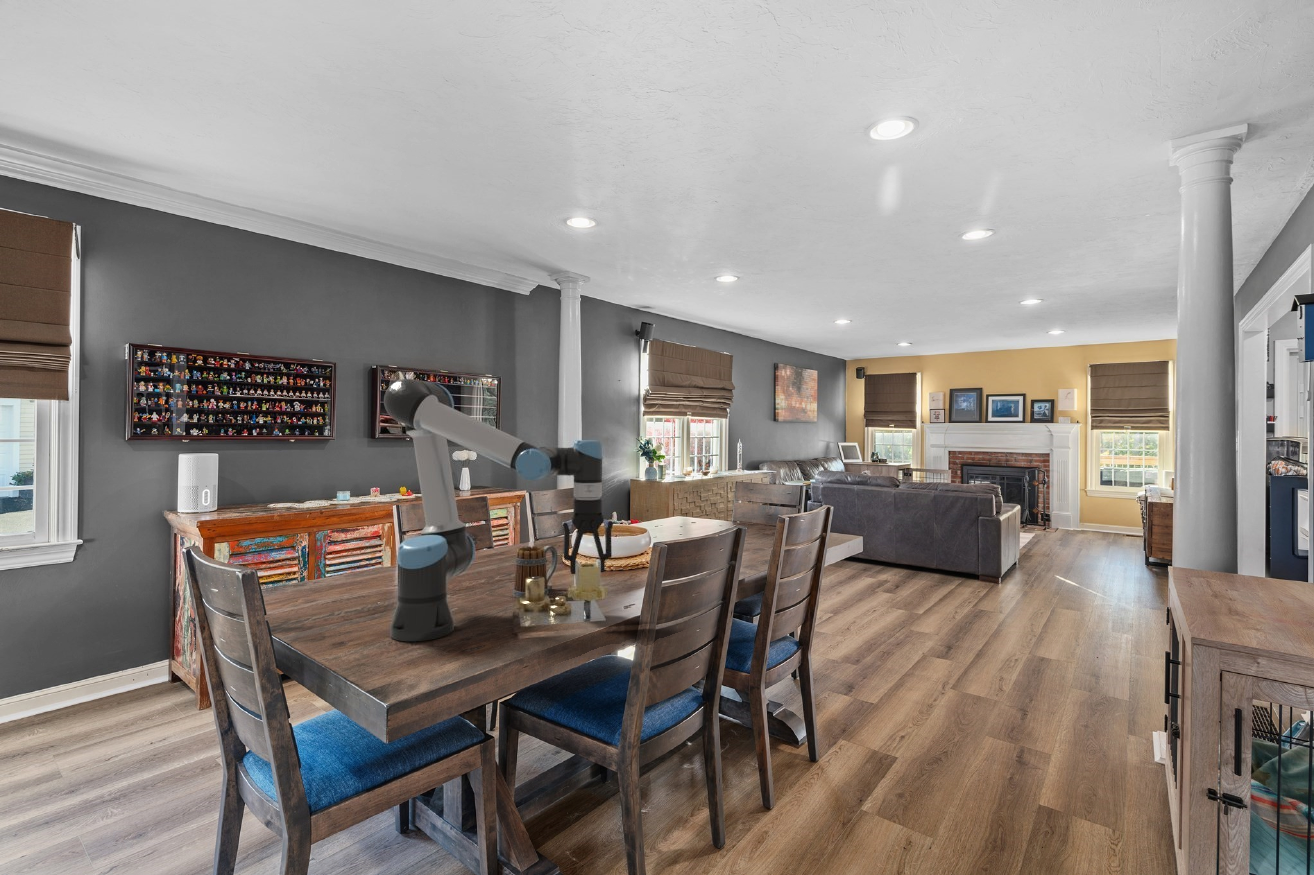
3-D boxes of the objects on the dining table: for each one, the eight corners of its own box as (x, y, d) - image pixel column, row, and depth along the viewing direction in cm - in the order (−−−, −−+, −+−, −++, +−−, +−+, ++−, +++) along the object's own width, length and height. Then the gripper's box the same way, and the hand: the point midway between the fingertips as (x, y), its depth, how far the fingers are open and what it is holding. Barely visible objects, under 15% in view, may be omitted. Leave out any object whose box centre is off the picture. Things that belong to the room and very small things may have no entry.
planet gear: (569, 602, 157) (570, 571, 157) (565, 591, 167) (565, 562, 167) (610, 599, 160) (610, 568, 160) (603, 589, 170) (603, 560, 170)
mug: (529, 605, 179) (529, 553, 179) (505, 598, 185) (505, 549, 185) (567, 593, 191) (567, 545, 191) (544, 588, 198) (544, 542, 198)
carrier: (517, 631, 156) (517, 593, 156) (515, 607, 177) (515, 573, 177) (606, 624, 161) (606, 588, 161) (593, 602, 182) (594, 569, 182)
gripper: (554, 500, 157) (554, 590, 158) (624, 499, 162) (623, 586, 162) (551, 497, 165) (551, 583, 165) (618, 495, 169) (618, 580, 169)
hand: (587, 585), depth 163 cm, fingers closed on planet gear, 5 cm apart
